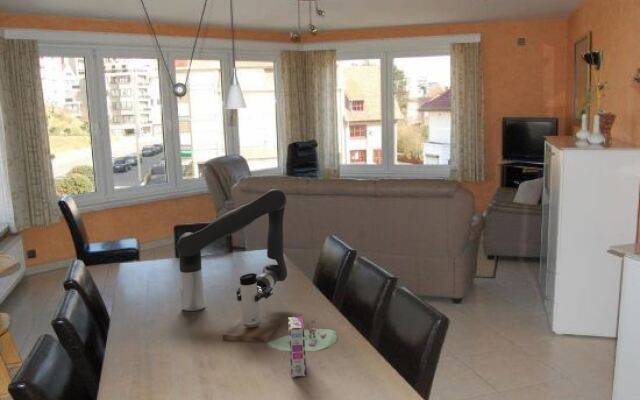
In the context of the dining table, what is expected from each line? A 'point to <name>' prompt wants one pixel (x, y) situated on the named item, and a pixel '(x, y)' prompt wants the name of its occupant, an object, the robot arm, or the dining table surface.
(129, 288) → the dining table surface
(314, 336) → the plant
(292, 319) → the candy bar box
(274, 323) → the walnut board
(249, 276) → the travel mug
